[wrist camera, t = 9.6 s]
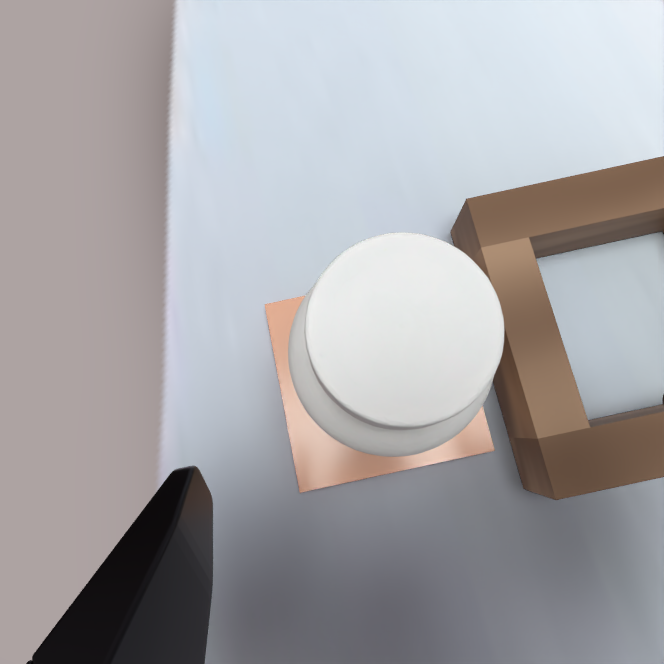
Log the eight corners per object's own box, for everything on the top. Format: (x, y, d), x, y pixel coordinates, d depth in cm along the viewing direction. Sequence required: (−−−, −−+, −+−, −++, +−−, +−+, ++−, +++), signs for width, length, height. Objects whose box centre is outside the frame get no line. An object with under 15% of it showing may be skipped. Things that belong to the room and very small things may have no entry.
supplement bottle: (326, 462, 18) (298, 497, 9) (295, 330, 19) (241, 235, 10) (462, 428, 18) (580, 427, 9) (424, 298, 19) (491, 173, 10)
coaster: (489, 449, 19) (494, 450, 18) (302, 490, 19) (299, 492, 18) (440, 272, 20) (443, 265, 19) (268, 309, 20) (264, 304, 19)
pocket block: (789, 431, 18) (873, 432, 15) (523, 489, 18) (555, 499, 15) (686, 180, 21) (741, 139, 18) (450, 232, 21) (466, 198, 18)
